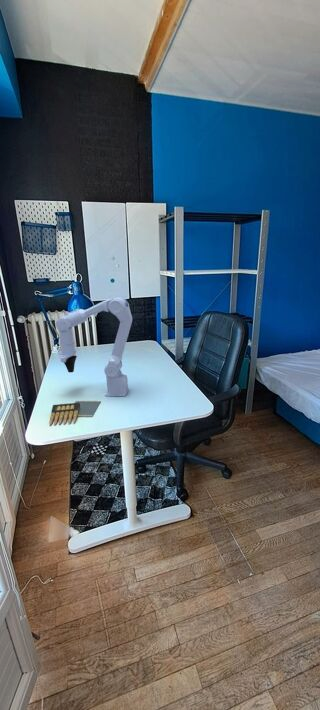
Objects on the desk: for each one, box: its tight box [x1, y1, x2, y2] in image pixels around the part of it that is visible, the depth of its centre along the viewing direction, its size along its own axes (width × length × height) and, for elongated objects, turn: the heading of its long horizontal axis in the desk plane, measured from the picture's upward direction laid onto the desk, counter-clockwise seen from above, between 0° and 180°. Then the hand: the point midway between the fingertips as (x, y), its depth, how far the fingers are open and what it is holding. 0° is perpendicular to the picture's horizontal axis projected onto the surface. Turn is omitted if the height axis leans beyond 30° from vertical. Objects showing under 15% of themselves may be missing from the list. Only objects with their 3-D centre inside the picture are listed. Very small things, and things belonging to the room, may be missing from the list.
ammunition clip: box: [48, 402, 80, 426], centre depth 117 cm, size 11×2×12 cm
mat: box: [68, 400, 101, 418], centre depth 124 cm, size 11×13×1 cm
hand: (71, 371), depth 136 cm, fingers closed
